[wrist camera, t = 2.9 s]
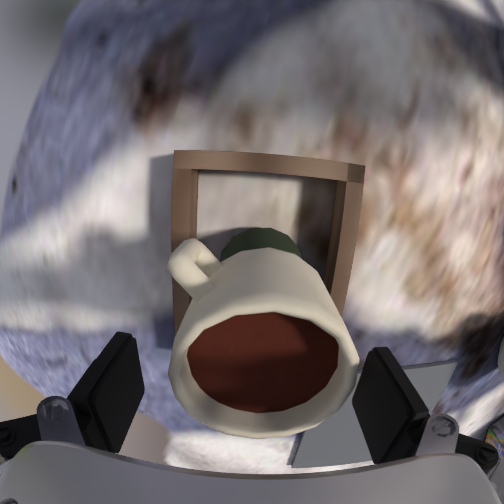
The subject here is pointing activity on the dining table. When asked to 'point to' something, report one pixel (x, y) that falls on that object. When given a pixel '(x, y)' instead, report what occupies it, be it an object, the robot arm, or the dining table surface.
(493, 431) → the chalk box
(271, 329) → the character mug
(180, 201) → the collar
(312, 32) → the dining table surface
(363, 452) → the rubber mat
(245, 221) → the dining table surface
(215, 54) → the dining table surface
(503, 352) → the teacup
